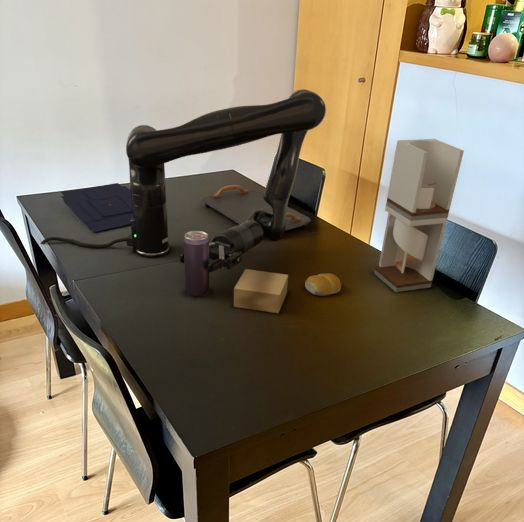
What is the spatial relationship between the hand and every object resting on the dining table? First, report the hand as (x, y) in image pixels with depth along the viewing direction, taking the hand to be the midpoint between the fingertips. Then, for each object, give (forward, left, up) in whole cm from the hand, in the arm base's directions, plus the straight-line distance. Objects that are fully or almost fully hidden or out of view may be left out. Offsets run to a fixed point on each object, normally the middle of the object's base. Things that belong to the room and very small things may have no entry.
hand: (194, 263), depth 131 cm
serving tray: (+2, +57, -8) cm, 58 cm away
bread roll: (+30, +12, -8) cm, 33 cm away
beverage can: (0, +1, -8) cm, 8 cm away
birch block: (+16, +2, -8) cm, 18 cm away
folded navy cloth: (-45, +46, -8) cm, 65 cm away
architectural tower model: (+50, +24, -8) cm, 56 cm away
